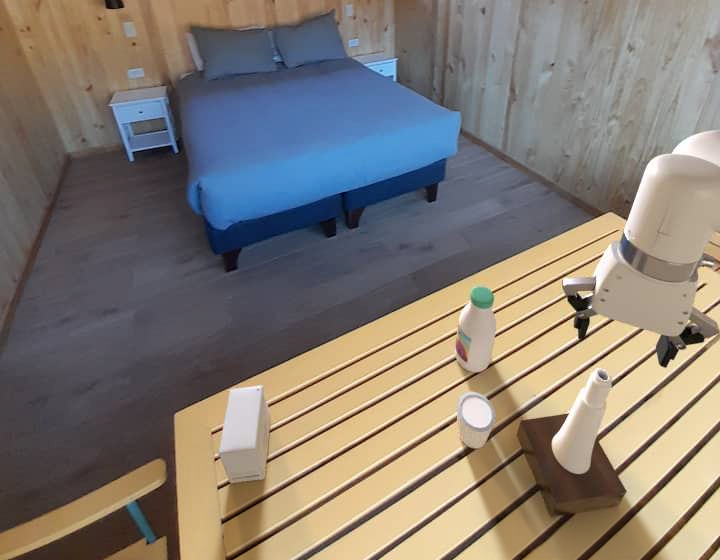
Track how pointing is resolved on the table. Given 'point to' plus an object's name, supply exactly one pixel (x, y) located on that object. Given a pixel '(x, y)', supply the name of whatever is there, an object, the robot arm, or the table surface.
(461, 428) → the white yogurt cup
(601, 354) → the table surface
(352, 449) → the table surface
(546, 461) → the block
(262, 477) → the cosmetics box
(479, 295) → the milk bottle
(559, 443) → the cosmetic bottle
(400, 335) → the table surface
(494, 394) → the table surface
